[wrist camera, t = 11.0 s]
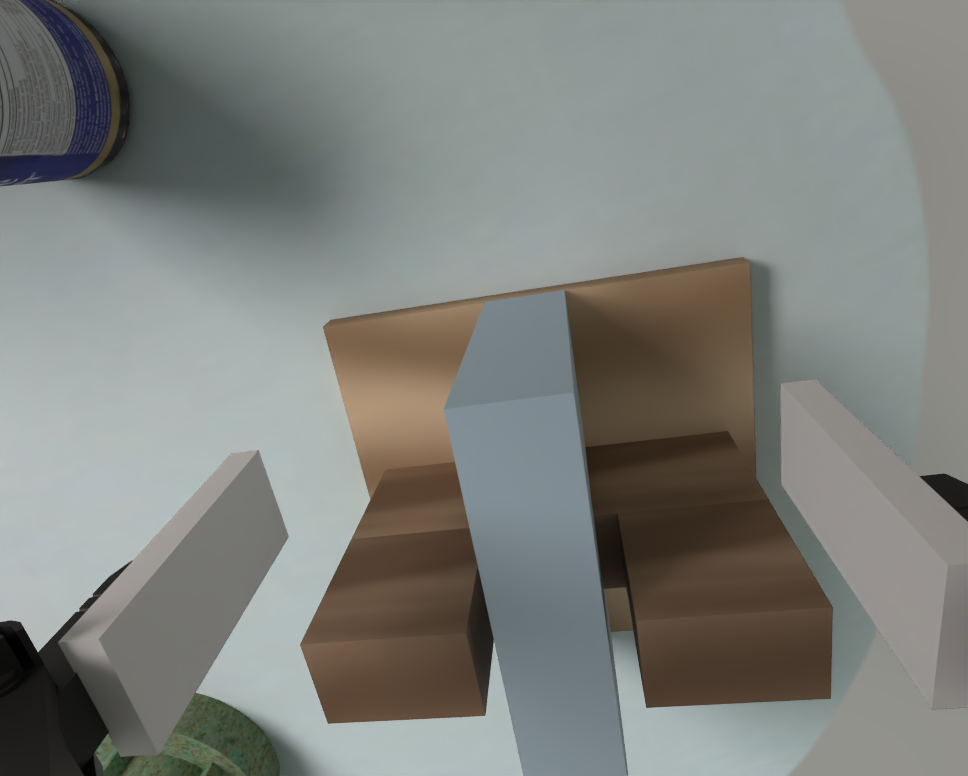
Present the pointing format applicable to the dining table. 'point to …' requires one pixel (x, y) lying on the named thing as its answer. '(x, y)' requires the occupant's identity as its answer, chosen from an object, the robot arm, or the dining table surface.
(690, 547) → the jig
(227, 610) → the robot arm
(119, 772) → the decorative artifact
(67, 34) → the pill bottle
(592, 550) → the slotted plate
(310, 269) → the dining table surface
